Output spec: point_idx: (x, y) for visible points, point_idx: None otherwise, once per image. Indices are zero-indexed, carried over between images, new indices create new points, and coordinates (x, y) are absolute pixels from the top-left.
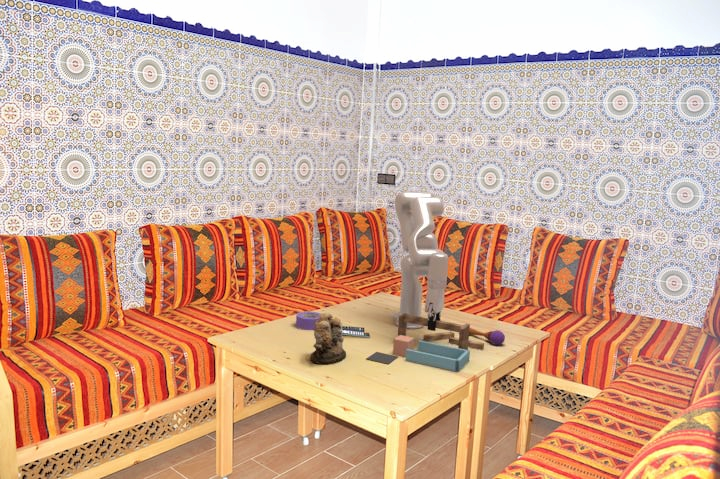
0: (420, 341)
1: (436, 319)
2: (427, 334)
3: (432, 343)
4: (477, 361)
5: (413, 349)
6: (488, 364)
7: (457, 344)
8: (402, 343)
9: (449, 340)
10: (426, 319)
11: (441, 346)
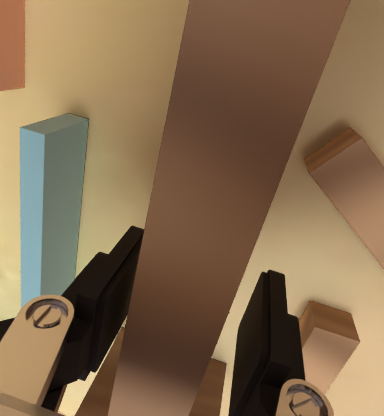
0: (20, 145)
1: (240, 382)
2: (381, 174)
3: (29, 235)
4: (79, 385)
5: (1, 88)
6: (69, 412)
7: None
8: None
9: (309, 319)
10: (170, 262)
11: (24, 284)
